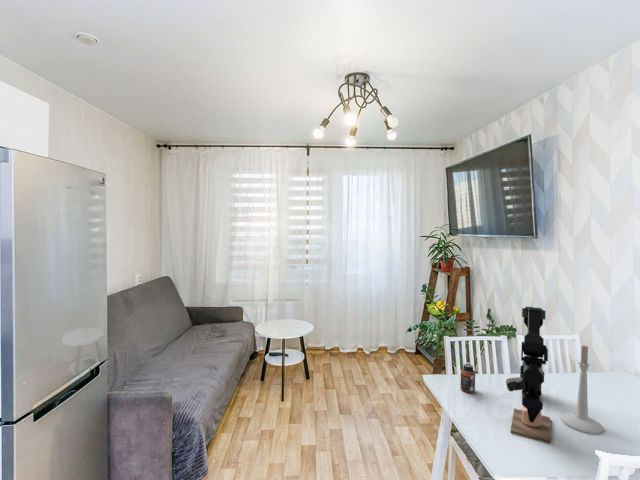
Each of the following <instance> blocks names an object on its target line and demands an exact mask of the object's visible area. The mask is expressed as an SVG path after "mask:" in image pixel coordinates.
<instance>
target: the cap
mask: <svg viewBox="0 0 640 480" xmlns="http://www.w3.org/2000/svg"><path fill="white" fill-rule="evenodd" d="M520 410H521V421H522V422H523V423H525V424H527V425H529V426H533V427H539V426H541V415H542V410H541V411H540V412H539V414H538V415H537V417H536V419H535V420H534V422H530V421H529V416H528V411H527V408H526V407H524V406H523V405H522V406H521V409H520Z"/></svg>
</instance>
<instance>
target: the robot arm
mask: <svg viewBox="0 0 640 480" xmlns="http://www.w3.org/2000/svg"><path fill="white" fill-rule="evenodd" d="M521 310H522V311H521V317H522V318H523V323H524V325H525V326H526V328H527V333H526V334H525V335H524V336H523V340H524V341H521V351H520V353H521V354H520V355H521V358H520V359H521V361H522V365H520V371H519V372H520V375H519V377H509V378H507V379H506V380H505V383H506V384H505V385H506V388H507V390H508V392H513V391H521V395H522V396H521V405H522V407H523V406H524V407H526V408H527V411H528V416H529V421H530V422H534V420H535V419H536V417H537V415H538V414H539V412H540V411H541V412H542V410H543V409H544V408H543V407H544V405H543V404H544V403H543V401H544V400H543V399H542V398H541V396H542V384H544V383H545V372H544V369H543V365H547V362H548V361H549V350H548V348H547V345H545V342H544V340H545V339H544V338H543V337H542V336H541V331H540V330H541V329H540V328H541V327H543V325H544V320H546V310H544V309H543V308H541V307H534V306H532V307H531V306H525V307H524V308H523V307H522V309H521Z"/></svg>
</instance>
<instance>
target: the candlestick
mask: <svg viewBox="0 0 640 480" xmlns="http://www.w3.org/2000/svg"><path fill="white" fill-rule="evenodd" d="M588 355H589V346H588V345H584V344H582V345H581V349H580V361H578V365H579V369H580V372H579V375H580V376H579V382H578V384H579V385H578V394H577V402H576V412H568V413H567V412H566V413H564V414H562V415H561V416H560V420H561V423H563V424H564V425H565V426H567V427H568V428H570V429H572V430H575V431H577V432H580V433H584V434H589V435H600V434H603V433H604V430H605V428H604V426H603V425H602V424H601V422H599V421H597V420H596V419H595V418H593V417H591V416H589V408H588V405H589V404H588V401H589V400H588V372H587V371H588V370H589V367H590V366H591V364H589V363H588V362H589V361H588V360H589V359H588V358H589V356H588Z"/></svg>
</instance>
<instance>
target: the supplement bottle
mask: <svg viewBox="0 0 640 480" xmlns="http://www.w3.org/2000/svg"><path fill="white" fill-rule="evenodd" d="M460 390H461V391H463V392H465V393H467V394H468V393H470V394H472V393H474V392H475V390H476V371H475V370H474V365H473V364H471V363H464V364H463V367H462V369H461V371H460Z"/></svg>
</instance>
